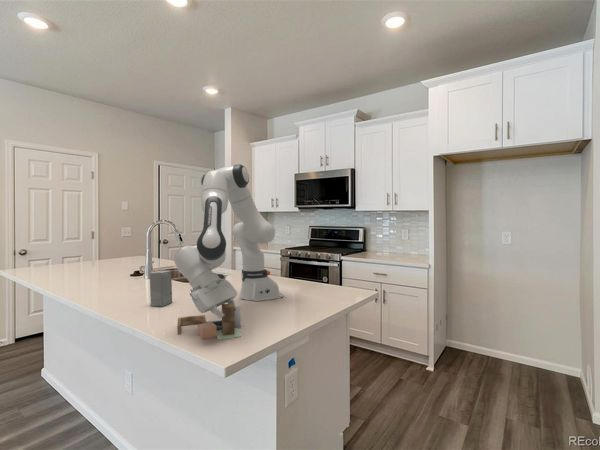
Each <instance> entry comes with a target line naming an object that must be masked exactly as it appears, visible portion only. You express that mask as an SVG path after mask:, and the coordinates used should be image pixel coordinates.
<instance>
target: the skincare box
mask: <svg viewBox="0 0 600 450" xmlns="http://www.w3.org/2000/svg"><path fill="white" fill-rule="evenodd" d="M172 283H173V281H172V270H157V271H153V272H152V271H151V272H149V292H150V293H149V294H150V295H149V296H150V306H151V307H165V306H168V305H169V304H172V303H173V288H172V287H173V286H172Z"/></svg>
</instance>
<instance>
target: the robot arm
mask: <svg viewBox="0 0 600 450" xmlns="http://www.w3.org/2000/svg"><path fill="white" fill-rule="evenodd" d="M200 182H201V183H200V184H201V192H200V202H201V203H200V205H201V208H202V211H203V212H204V216H203V229H202V230H201V232H200V234H199V236H198V238H197V241H196V245H184V246H182V247H181V248H180V249H179V250H178V251H177V252H176V254H175V255H174V258H173V259H174V264H175V266H176V268H177V270H178V271H179V272H180V274H181V275H182V277H184V278H185V279H186V280H187V281H188V283H189V285H190V287H191V289H190V290H189V296H190V297H191V300H192V302H193V303H194V306H195V307H196V309H197V310H198V311H199V312H200V313H202V314H205V313H207V312H209V311H210V312H211V313H212V314H214V316H217V318H218V319H219V320H222V318H223V317H224V316H225V314H224V312H223V311H222V310H220V309H219V307H220V306H222V304H230V303H233V304H234V311H236V310H237V309H238V307H239V306H237V305H236V302H235V298H236V297H237V296H238V291H237V290H236V288H235V287H234V285H232V283H231V282H230V281H229V280H227V277H226V275H225V274H223V273H216V272H213V270H214V269H216V268H218V267H220V266H221V265H223V263H225V261H226V254H227V253H226V249H227V248H226V247H227V240H226V237H225V235H224V233H223V231H222V219H223V217H222V215H223V214H224V213H225V212H226V211H227V209H228V205H229V204H230V207H231V209H232V212H233V213H234V215H235V217H236V218H237V219H239V220H240V222H238V223H236V224H235V225H234V226H233V227H232V235H233V237H234V239H235V240H236V241H237V243H238V246H239V248H240V251H241V256H242V257H241V258H242V269H241V281H242V282H241V289H240V294H239V298H240V299H241V300H246V301H253V302H261V301H269V300H275V298H276V299H282V298H283V297H284V293H283V292H282V291H280V289H279V284H278V283H277V282H276V281H274V280H273V279H272V278H271V277H270V275H271V271H270V270H267V269H265V254H264V252H263V251H262V250H261V249H260V247H259V244H267V243H271V242H273V240H274V238H275V236H276V229H275V226H274V225H273V224H271V223H270V222H269V221H267V220H266V219H265V218H264V217H263V215H262V214H261V213H260V211H259V210H258V208H257V207H256V203H255V202H254V199H253V197H252V193H251V191H250V189H249V187H248V184H249V183H250V174H249V171H248V169H247V168H246V166H244V165H243V164H234V165H229V166H223V167H221V168H218V169H215V170H214V169H213V170H210V171H208V172H206V173H205V174H203V175H202V178H201V180H200ZM281 297H282V298H281Z"/></svg>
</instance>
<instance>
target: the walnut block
mask: <svg viewBox="0 0 600 450" xmlns="http://www.w3.org/2000/svg"><path fill="white" fill-rule="evenodd" d="M221 311H223V312H224V314H225V316H224V317H223V318H221V320H222V334H223V335H232V334H235V321H234V304H233V303H230V304H228V303H225V304H222V305H221Z"/></svg>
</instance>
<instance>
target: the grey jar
mask: <svg viewBox="0 0 600 450" xmlns="http://www.w3.org/2000/svg"><path fill="white" fill-rule="evenodd" d="M237 307H238V309H237V310H236V311H234V321H235V328H237V327H238V328H241V306H237Z"/></svg>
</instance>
